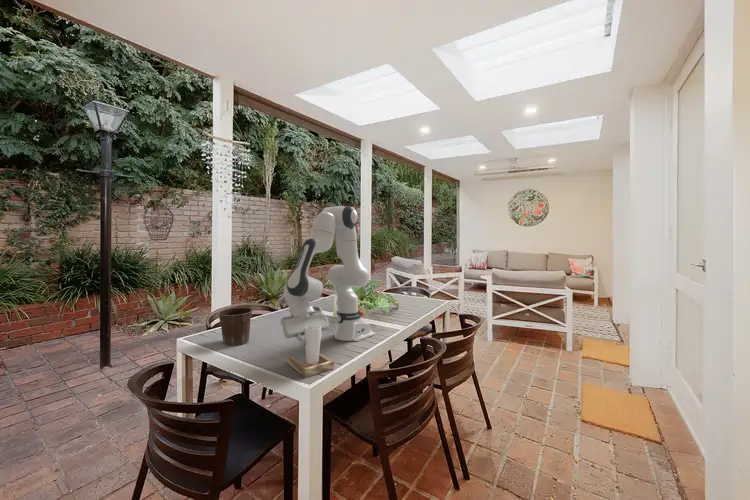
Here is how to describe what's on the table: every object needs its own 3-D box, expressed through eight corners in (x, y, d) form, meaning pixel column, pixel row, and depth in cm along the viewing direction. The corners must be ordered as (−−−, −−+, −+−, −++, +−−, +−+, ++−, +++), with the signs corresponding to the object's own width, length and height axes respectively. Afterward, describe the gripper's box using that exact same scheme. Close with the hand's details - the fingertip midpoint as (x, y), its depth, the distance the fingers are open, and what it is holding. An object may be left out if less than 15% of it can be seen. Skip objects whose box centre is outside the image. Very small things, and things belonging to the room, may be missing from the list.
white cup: (300, 363, 130) (301, 328, 129) (309, 357, 136) (310, 323, 136) (315, 366, 128) (315, 330, 127) (323, 360, 134) (324, 325, 133)
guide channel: (313, 355, 145) (313, 349, 145) (333, 368, 132) (333, 361, 132) (286, 362, 137) (286, 355, 137) (305, 377, 123) (305, 369, 123)
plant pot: (210, 344, 157) (210, 313, 156) (236, 335, 172) (235, 306, 171) (235, 349, 151) (235, 316, 150) (259, 339, 166) (259, 309, 165)
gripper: (281, 314, 130) (291, 343, 123) (324, 307, 144) (335, 333, 137) (277, 322, 134) (286, 351, 127) (319, 314, 147) (330, 340, 140)
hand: (312, 342), depth 132 cm, fingers closed on white cup, 6 cm apart
